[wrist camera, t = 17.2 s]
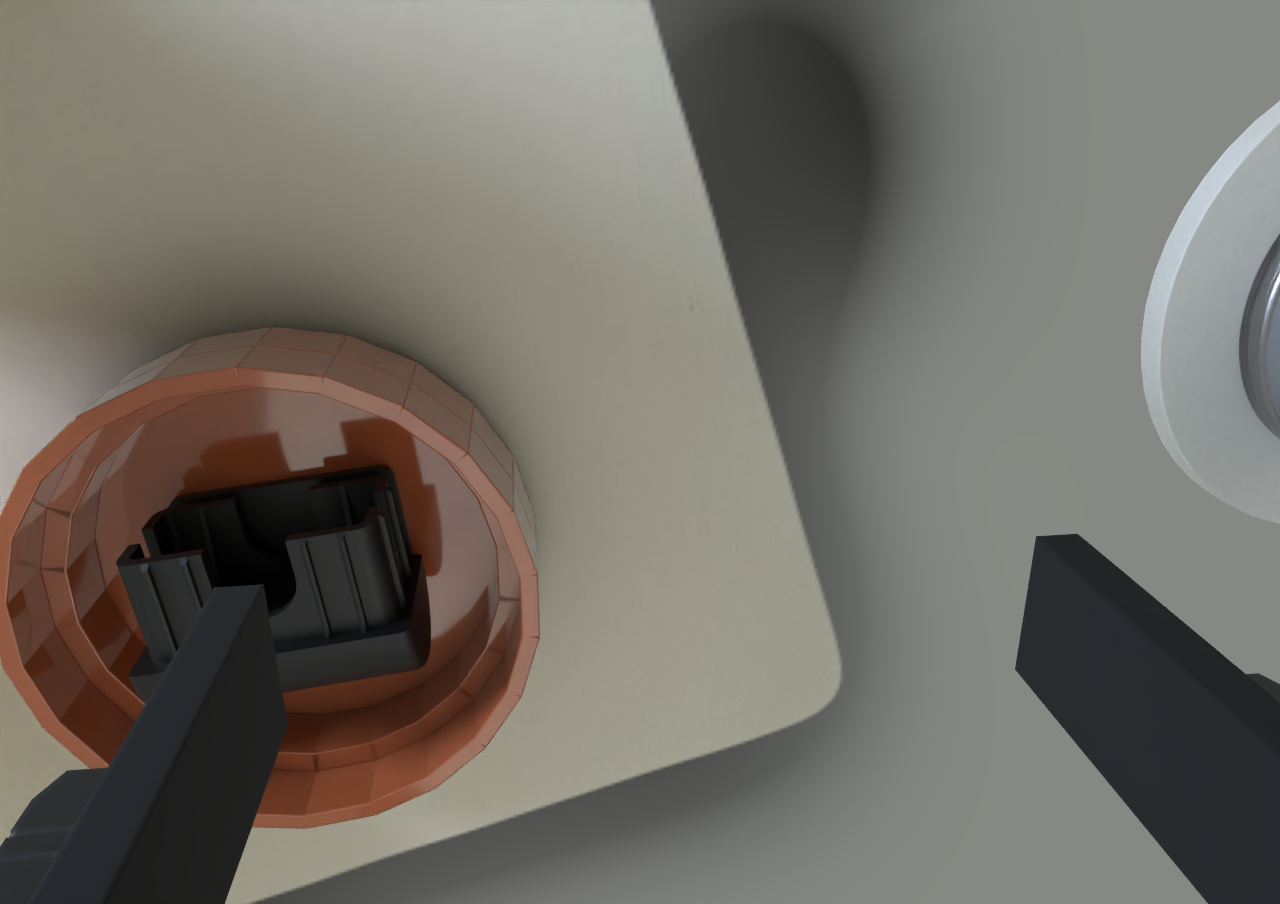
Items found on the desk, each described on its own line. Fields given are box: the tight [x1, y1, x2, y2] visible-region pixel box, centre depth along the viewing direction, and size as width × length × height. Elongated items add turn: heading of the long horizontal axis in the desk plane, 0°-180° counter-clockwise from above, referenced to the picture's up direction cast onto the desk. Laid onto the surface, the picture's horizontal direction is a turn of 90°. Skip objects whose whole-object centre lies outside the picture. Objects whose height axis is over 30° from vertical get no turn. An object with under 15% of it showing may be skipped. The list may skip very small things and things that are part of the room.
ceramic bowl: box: [0, 327, 540, 829], centre depth 38 cm, size 19×20×6 cm
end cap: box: [116, 465, 431, 703], centre depth 38 cm, size 10×7×7 cm
